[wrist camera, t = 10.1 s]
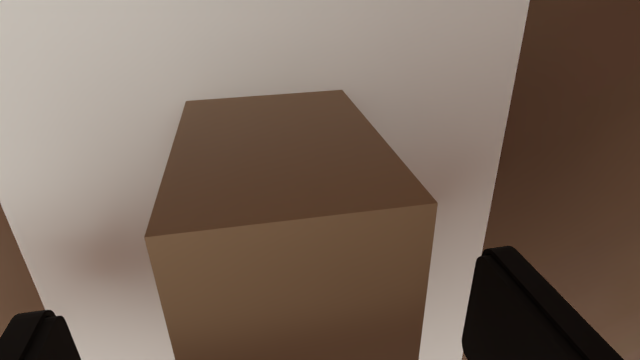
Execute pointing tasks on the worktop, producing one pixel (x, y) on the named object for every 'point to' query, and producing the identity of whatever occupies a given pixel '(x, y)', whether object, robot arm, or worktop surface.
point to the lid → (255, 170)
